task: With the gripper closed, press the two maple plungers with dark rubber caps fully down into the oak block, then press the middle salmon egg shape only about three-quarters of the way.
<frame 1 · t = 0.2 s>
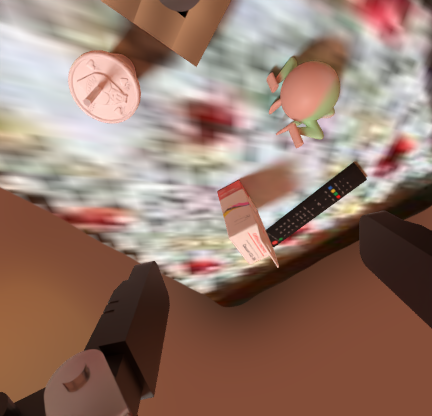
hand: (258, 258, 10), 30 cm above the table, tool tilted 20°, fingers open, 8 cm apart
smoothie: (120, 70, 31), on the table
remote control: (305, 206, 52), on the table
ink cartridge box: (236, 199, 47), on the table
frog: (294, 93, 36), on the table
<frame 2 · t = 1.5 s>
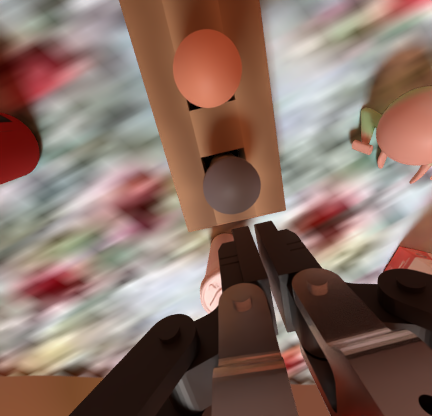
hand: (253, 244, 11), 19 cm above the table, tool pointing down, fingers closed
smoothie: (224, 244, 33), on the table
oak block: (206, 86, 25), on the table
ink cartridge box: (413, 264, 35), on the table
beverage can: (12, 144, 27), on the table
plunger 1: (227, 176, 22), point 7 cm above the table, slide at 0.0 cm
frog: (392, 130, 28), on the table
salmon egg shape: (206, 77, 19), point 7 cm above the table, slide at 0.0 cm
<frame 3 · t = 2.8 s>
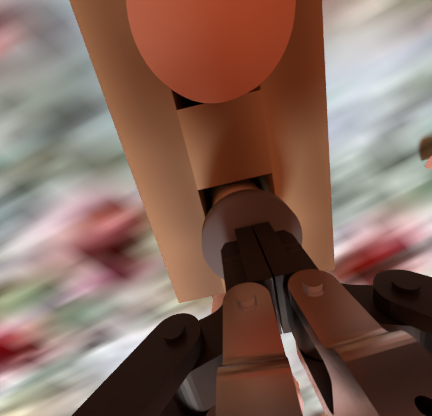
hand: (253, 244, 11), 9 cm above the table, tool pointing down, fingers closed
oak block: (206, 71, 16), on the table
plunger 1: (240, 213, 14), point 6 cm above the table, slide at 1.4 cm, touching gripper
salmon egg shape: (209, 44, 10), point 7 cm above the table, slide at 0.0 cm
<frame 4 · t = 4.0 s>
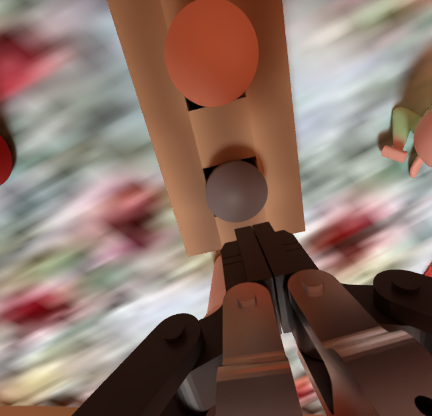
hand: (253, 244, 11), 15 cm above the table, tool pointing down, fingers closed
smoothie: (230, 264, 28), on the table
oak block: (208, 82, 21), on the table
plunger 1: (231, 181, 20), point 4 cm above the table, slide at 3.0 cm
frog: (428, 133, 24), on the table
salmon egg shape: (210, 68, 15), point 7 cm above the table, slide at 0.0 cm
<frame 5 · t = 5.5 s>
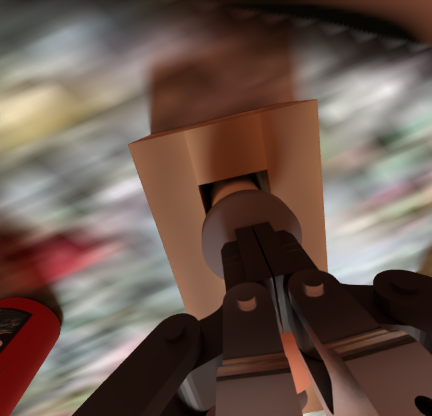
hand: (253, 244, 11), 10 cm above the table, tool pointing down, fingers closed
oak block: (245, 262, 23), on the table
beverage can: (30, 317, 24), on the table
plunger 2: (240, 213, 14), point 7 cm above the table, slide at 0.4 cm, touching gripper
plunger 1: (268, 360, 22), point 4 cm above the table, slide at 3.0 cm
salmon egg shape: (262, 322, 16), point 7 cm above the table, slide at 0.0 cm
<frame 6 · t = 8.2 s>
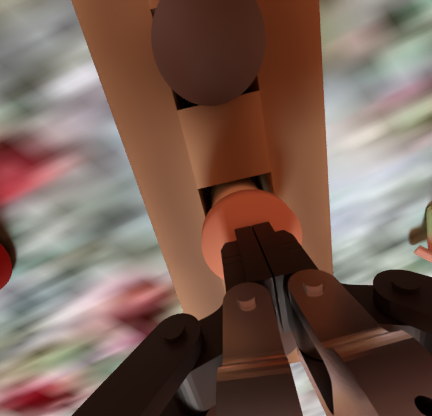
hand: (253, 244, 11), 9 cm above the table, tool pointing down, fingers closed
oak block: (229, 184, 19), on the table
plunger 2: (207, 61, 13), point 4 cm above the table, slide at 3.0 cm
plunger 1: (256, 297, 19), point 4 cm above the table, slide at 3.0 cm
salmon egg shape: (240, 213, 14), point 6 cm above the table, slide at 1.1 cm, touching gripper
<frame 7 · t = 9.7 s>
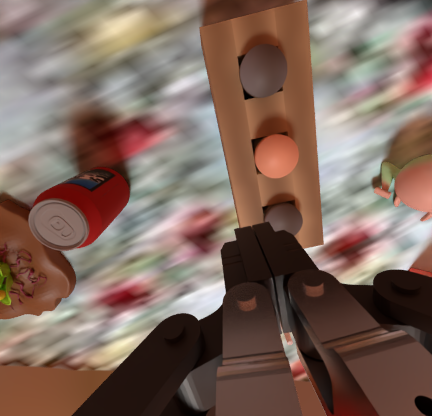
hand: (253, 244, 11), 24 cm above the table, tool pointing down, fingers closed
oak block: (260, 146, 33), on the table
beverage can: (107, 188, 34), on the table
plunger 2: (256, 76, 26), point 4 cm above the table, slide at 3.0 cm
plunger 1: (276, 211, 32), point 4 cm above the table, slide at 3.0 cm
frog: (406, 177, 35), on the table
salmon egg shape: (269, 152, 28), point 5 cm above the table, slide at 2.1 cm
plant: (5, 260, 38), on the table
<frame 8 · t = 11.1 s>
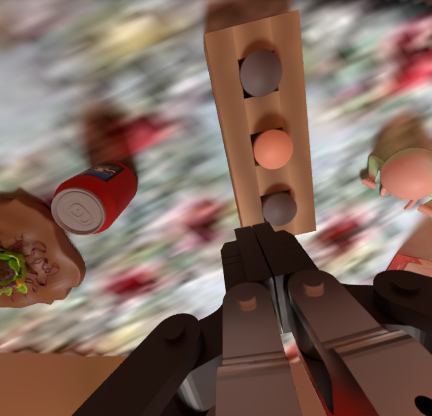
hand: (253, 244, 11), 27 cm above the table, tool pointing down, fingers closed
oak block: (258, 141, 35), on the table
ink cartridge box: (408, 267, 45), on the table
beverage can: (116, 181, 37), on the table
plunger 2: (255, 77, 29), point 4 cm above the table, slide at 3.0 cm
plunger 1: (273, 201, 35), point 4 cm above the table, slide at 3.0 cm
frog: (391, 169, 38), on the table
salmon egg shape: (266, 146, 31), point 5 cm above the table, slide at 2.1 cm
plant: (18, 252, 41), on the table
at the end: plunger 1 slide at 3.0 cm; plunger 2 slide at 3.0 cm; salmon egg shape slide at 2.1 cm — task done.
